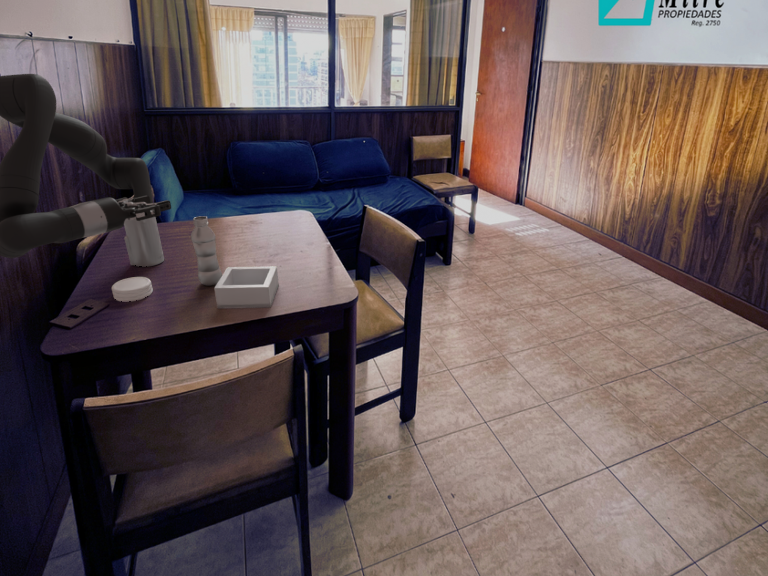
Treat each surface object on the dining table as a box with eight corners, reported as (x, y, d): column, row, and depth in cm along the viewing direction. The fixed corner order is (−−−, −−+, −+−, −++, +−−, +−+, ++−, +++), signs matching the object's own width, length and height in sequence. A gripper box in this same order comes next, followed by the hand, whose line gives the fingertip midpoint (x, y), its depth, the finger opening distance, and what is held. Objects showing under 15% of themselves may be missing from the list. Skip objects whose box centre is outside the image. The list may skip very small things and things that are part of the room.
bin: (217, 308, 128) (214, 288, 125) (230, 286, 141) (227, 267, 138) (270, 307, 129) (268, 287, 126) (278, 285, 141) (276, 266, 139)
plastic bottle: (216, 289, 139) (205, 222, 130) (195, 287, 140) (182, 220, 131) (227, 280, 144) (217, 215, 136) (206, 278, 146) (195, 214, 137)
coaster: (157, 286, 141) (155, 275, 140) (146, 301, 132) (144, 290, 131) (121, 288, 140) (118, 277, 138) (108, 303, 131) (105, 292, 129)
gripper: (109, 205, 105) (174, 190, 117) (74, 197, 112) (139, 183, 124) (117, 238, 108) (180, 220, 120) (83, 228, 115) (145, 212, 127)
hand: (159, 202), depth 122 cm, fingers open, 8 cm apart
